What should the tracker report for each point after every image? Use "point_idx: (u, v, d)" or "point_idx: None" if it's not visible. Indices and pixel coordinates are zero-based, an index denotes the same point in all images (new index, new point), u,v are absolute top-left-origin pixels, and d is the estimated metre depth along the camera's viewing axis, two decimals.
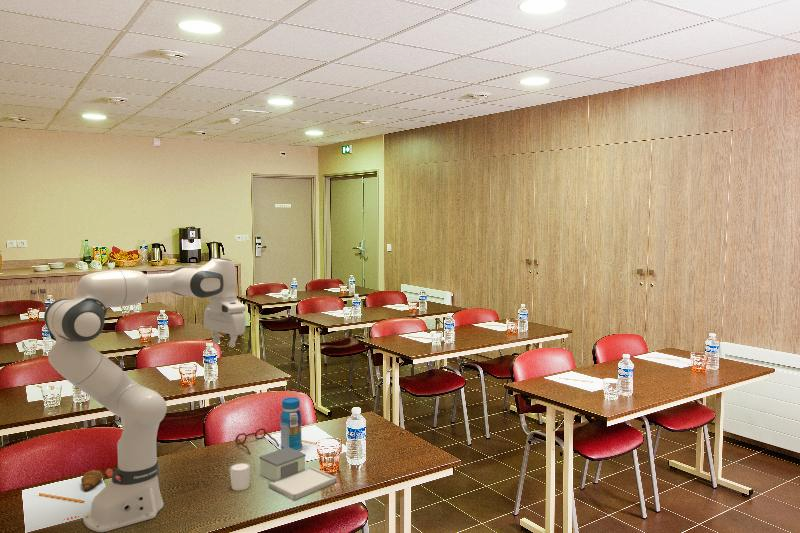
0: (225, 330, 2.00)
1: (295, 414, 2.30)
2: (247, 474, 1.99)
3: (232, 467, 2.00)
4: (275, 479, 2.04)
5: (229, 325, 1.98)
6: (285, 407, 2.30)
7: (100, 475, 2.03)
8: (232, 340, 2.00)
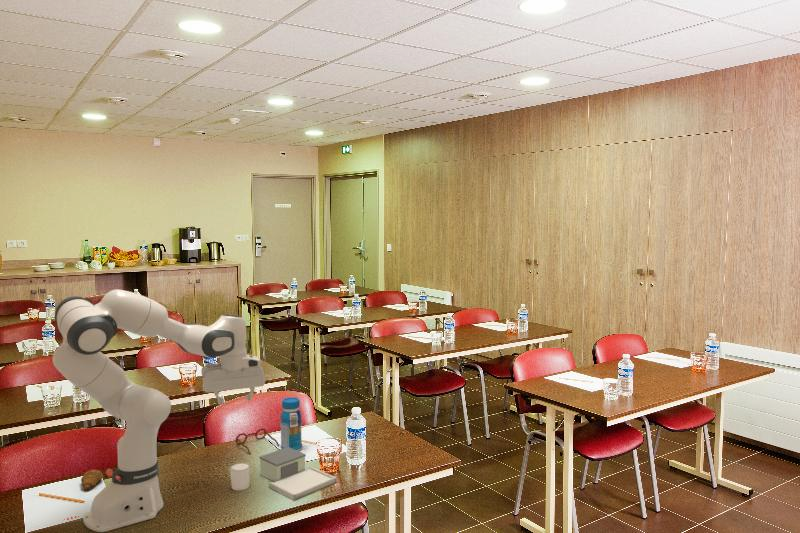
0: (246, 385, 2.00)
1: (295, 414, 2.30)
2: (247, 474, 1.99)
3: (232, 467, 2.00)
4: (275, 479, 2.04)
5: (253, 378, 2.01)
6: (285, 407, 2.30)
7: (100, 475, 2.03)
8: None
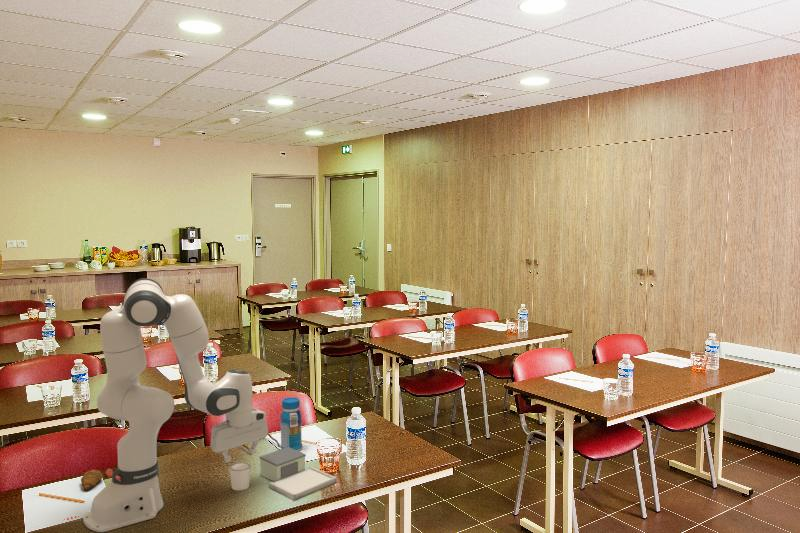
0: (252, 439, 2.01)
1: (295, 414, 2.30)
2: (247, 474, 1.99)
3: (232, 467, 2.00)
4: (275, 479, 2.04)
5: (258, 431, 2.03)
6: (285, 407, 2.30)
7: (100, 475, 2.03)
8: None
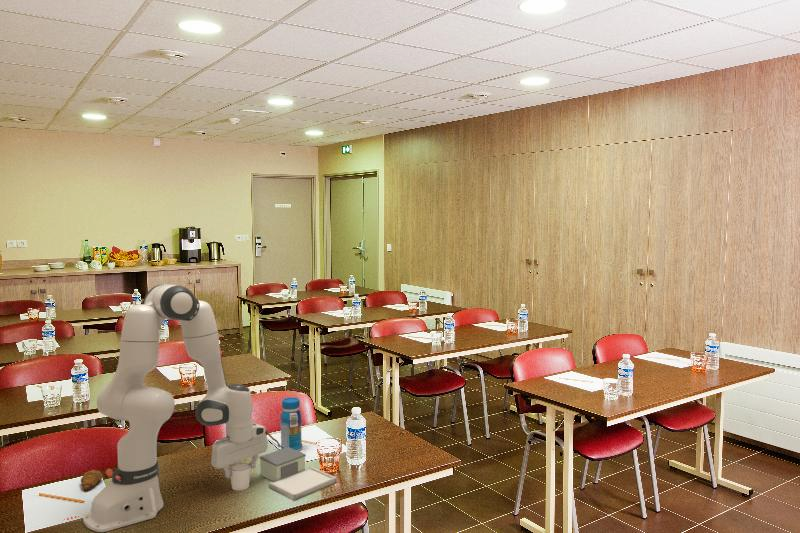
0: (252, 453, 2.03)
1: (295, 414, 2.30)
2: (247, 474, 1.99)
3: (232, 467, 2.00)
4: (275, 479, 2.04)
5: (258, 446, 2.04)
6: (285, 407, 2.30)
7: (100, 475, 2.03)
8: None
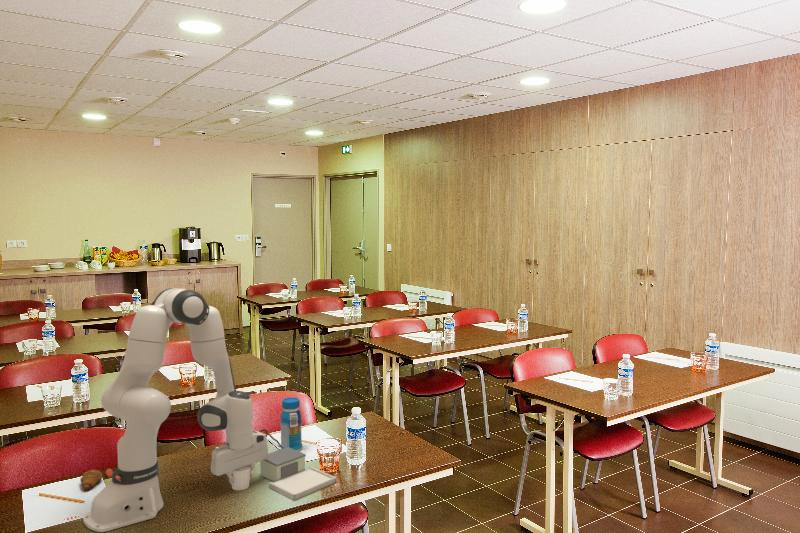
0: (252, 461, 2.02)
1: (295, 414, 2.30)
2: (247, 474, 1.99)
3: None
4: (275, 479, 2.04)
5: (258, 453, 2.04)
6: (285, 407, 2.30)
7: (99, 475, 2.03)
8: None
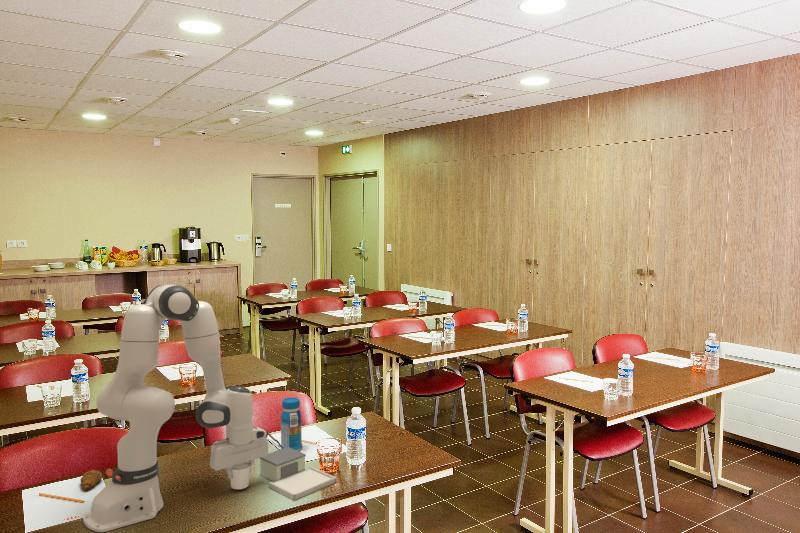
0: (252, 457, 2.00)
1: (296, 414, 2.30)
2: (246, 473, 1.97)
3: None
4: (275, 479, 2.04)
5: (258, 449, 2.02)
6: (285, 407, 2.30)
7: (99, 475, 2.03)
8: None
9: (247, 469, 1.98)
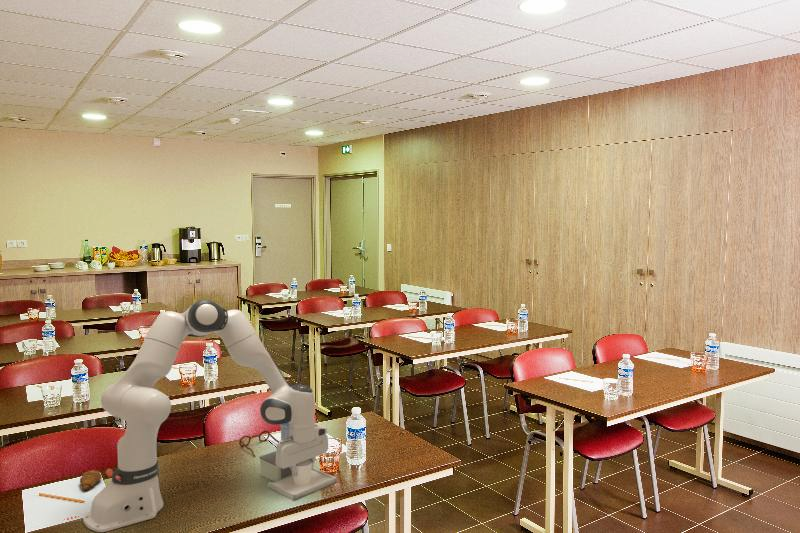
0: (314, 454, 2.03)
1: None
2: (309, 469, 2.01)
3: None
4: (275, 479, 2.04)
5: (319, 447, 2.05)
6: None
7: (99, 475, 2.03)
8: None
9: (310, 465, 2.01)
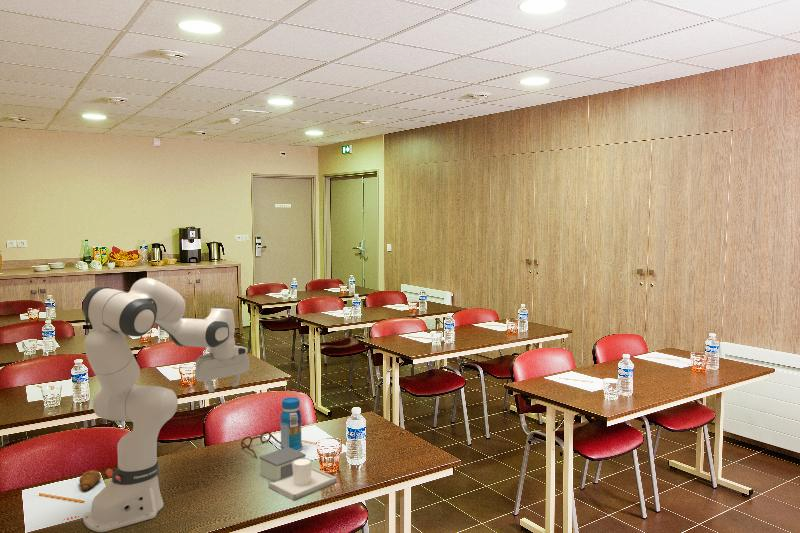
0: (235, 372, 2.16)
1: (295, 414, 2.30)
2: (309, 469, 2.01)
3: (294, 462, 2.02)
4: (275, 479, 2.04)
5: (240, 365, 2.17)
6: (285, 407, 2.30)
7: (98, 475, 2.03)
8: None
9: (310, 465, 2.01)
